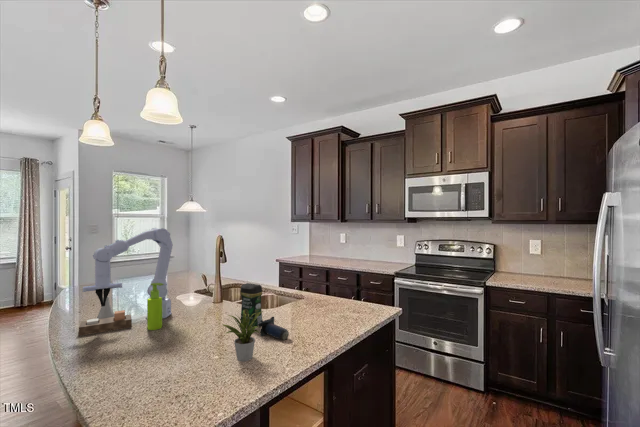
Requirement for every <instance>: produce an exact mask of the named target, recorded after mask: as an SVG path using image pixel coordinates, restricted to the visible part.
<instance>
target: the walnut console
mask: <svg viewBox="0 0 640 427" xmlns="http://www.w3.org/2000/svg"><path fill="white" fill-rule="evenodd" d="M132 320H133V319H132V314H131V313H130V314H125V319H123V320H116V321H114V317H109V318H102V319H99V323H96V324H90V325H87V320H83V321H80V323H79V326H78V337H80V336H85V335H91V334H98V333H104V332H106V333H107V332H110V331H111V330H112V331H116V330H117V329H118V330H123V329H129V328H130V329H131V328H132V326H133V324H132V323H133V322H132Z"/></svg>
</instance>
